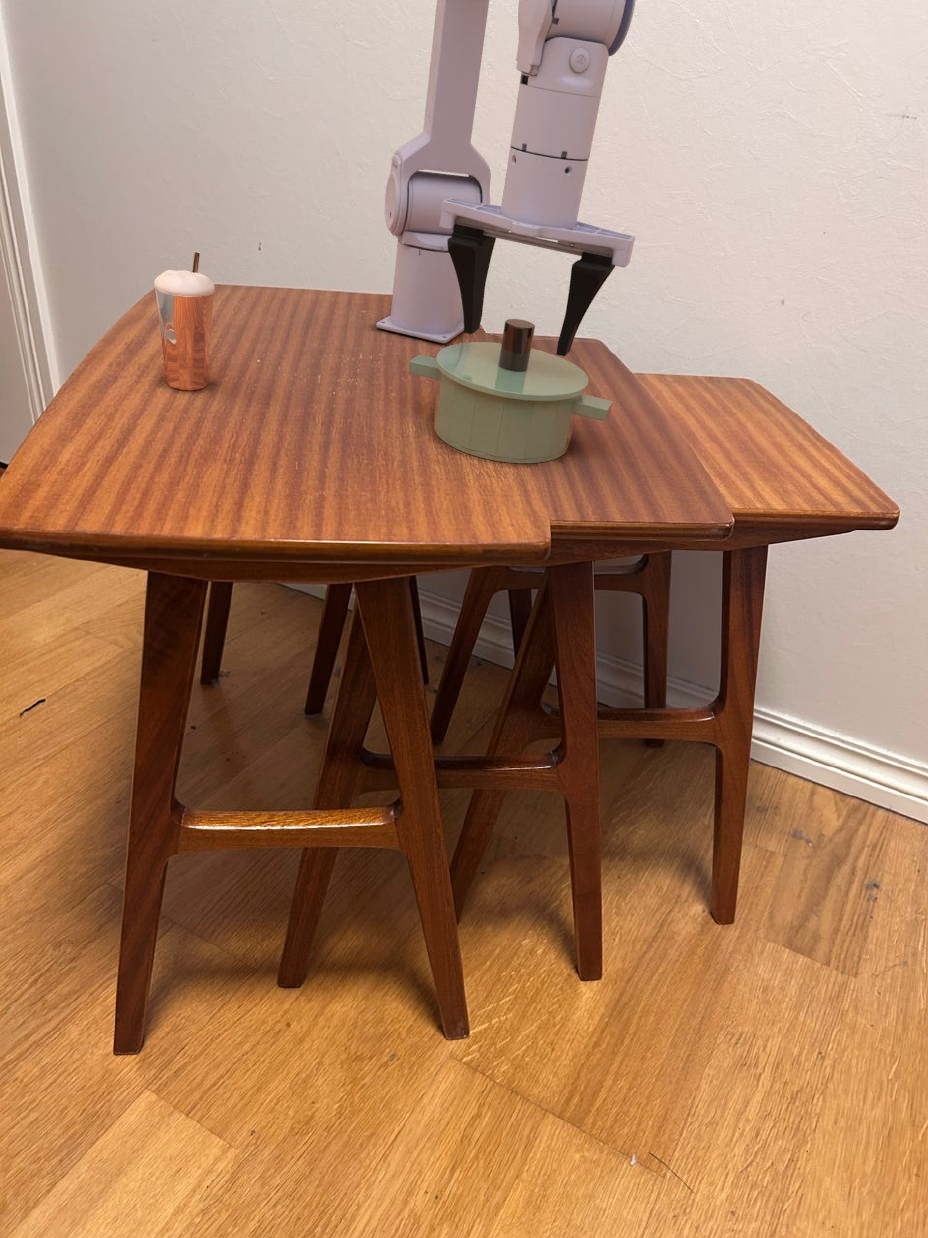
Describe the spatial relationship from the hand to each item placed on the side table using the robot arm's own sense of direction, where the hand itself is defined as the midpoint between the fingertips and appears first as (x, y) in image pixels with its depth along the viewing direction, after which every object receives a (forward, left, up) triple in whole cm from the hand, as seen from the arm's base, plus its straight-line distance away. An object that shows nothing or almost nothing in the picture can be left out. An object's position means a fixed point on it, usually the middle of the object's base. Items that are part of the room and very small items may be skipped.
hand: (516, 341), depth 73 cm
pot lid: (0, 0, -2) cm, 3 cm away
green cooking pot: (0, 0, -8) cm, 8 cm away
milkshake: (+6, -26, -8) cm, 28 cm away
